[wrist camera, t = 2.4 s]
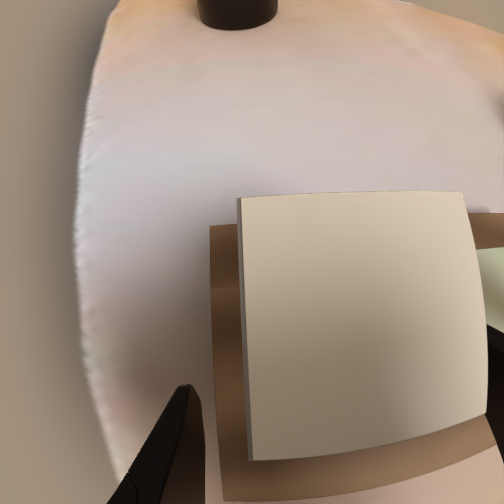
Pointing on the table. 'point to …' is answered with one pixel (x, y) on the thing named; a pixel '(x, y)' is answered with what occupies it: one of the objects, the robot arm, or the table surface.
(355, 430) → the plug
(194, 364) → the table surface
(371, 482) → the board
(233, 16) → the ink bottle
